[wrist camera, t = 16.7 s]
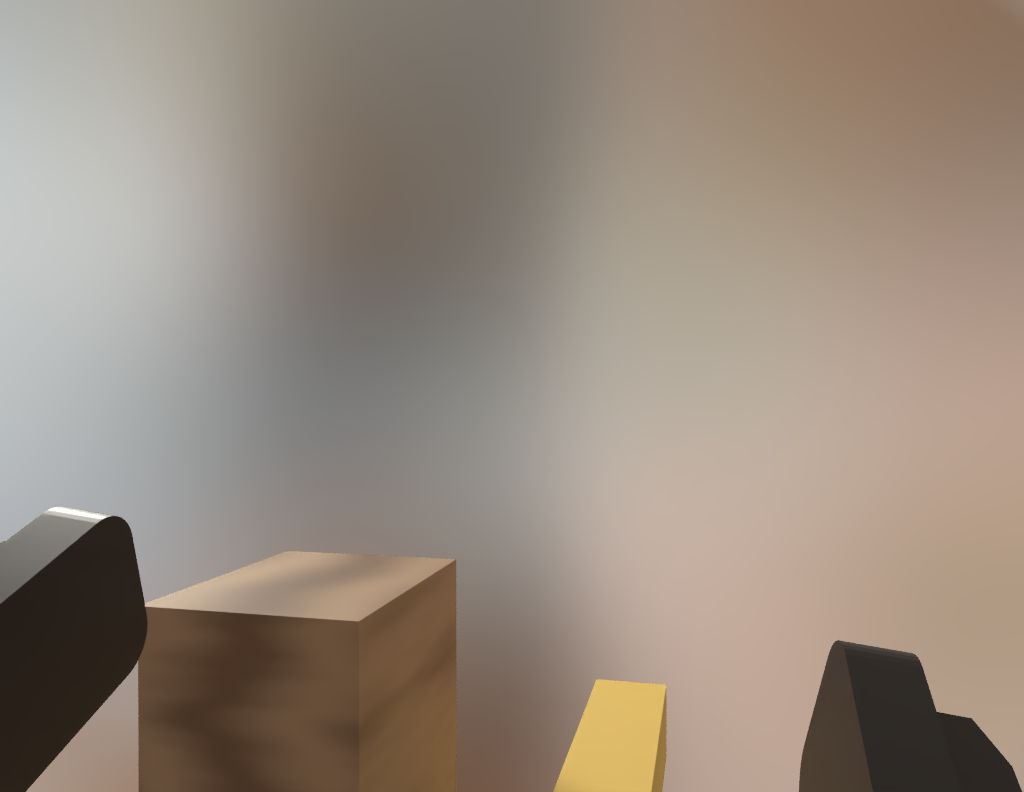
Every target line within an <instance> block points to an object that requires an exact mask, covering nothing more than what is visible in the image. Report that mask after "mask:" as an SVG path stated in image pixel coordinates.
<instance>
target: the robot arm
mask: <svg viewBox="0 0 1024 792" xmlns="http://www.w3.org/2000/svg"><path fill="white" fill-rule="evenodd" d="M147 626H148V621H147V614H146V608H145V603H144V597H143V592H142V586H141V581H140V576H139V570H138V564H137V559H136V554H135V548H134V543H133V537H132V533H131V529H130V527H129V525H128V524H127V522H126V521H125V520H124V519H122V518H120V517H118V516H113V515H107V514H101V513H95V512H90V511H84V510H78V509H73V508H67V507H55V508H52V509H49V510H47V511H46V512H44V513H43V514H41V515H40V516H39V517H38V518H36V519H35V520H34V521H32V522H31V523H29V524H28V525H27V526H25V527H24V528H23V529H21V530H20V531H19V532H17V533H16V534H15V535H13V536H12V537H11V538H10V539H8V540H7V541H4V542H2V543H0V792H26V791H27V789H28V788H29V787H30V786H31V785H32V784H33V783H34V782H35V780H36V779H37V778H38V777H39V776H40V775H41V774H42V772H43V771H44V770H45V769H46V768H47V766H48V765H49V764H50V763H51V762H52V761H53V760H54V759H55V757H56V756H57V755H58V754H59V753H60V752H61V751H62V750H63V749H64V747H65V746H66V745H67V744H68V743H69V742H70V741H71V739H72V738H73V737H74V736H75V735H76V734H77V733H78V731H79V730H80V729H81V728H82V727H83V726H84V725H85V724H86V722H87V721H88V720H89V719H90V718H91V717H92V716H93V714H94V713H95V712H96V711H97V710H98V709H99V707H101V705H102V704H103V703H104V702H105V701H106V700H107V699H108V697H109V696H110V695H111V694H112V693H113V692H114V691H115V689H116V688H117V687H118V686H119V685H120V684H121V683H122V681H123V680H124V679H125V678H126V677H127V676H128V675H129V673H130V672H131V671H132V669H133V668H134V666H135V665H136V663H137V661H138V659H139V657H140V655H141V653H142V650H143V647H144V644H145V640H146V636H147ZM799 792H1022V790H1021V788H1020V785H1019V783H1018V780H1017V778H1016V775H1015V773H1014V770H1013V768H1012V766H1011V765H1010V764H1009V762H1008V761H1007V760H1006V759H1005V758H1004V756H1003V755H1002V754H1001V753H1000V752H999V750H998V749H997V748H996V747H995V746H994V745H993V743H992V742H991V741H990V740H989V739H988V737H987V736H986V735H985V734H984V733H983V732H982V730H981V729H980V728H979V727H978V726H977V724H976V723H975V722H974V721H973V720H972V719H971V718H966V717H961V716H956V715H950V714H945V713H939V712H936V709H935V706H934V703H933V699H932V696H931V693H930V690H929V687H928V683H927V680H926V677H925V674H924V671H923V668H922V665H921V662H920V660H919V659H918V657H917V656H916V655H915V654H912V653H907V652H902V651H896V650H890V649H884V648H878V647H873V646H867V645H861V644H856V643H850V642H844V641H839V640H838V641H835V643H834V644H833V645H832V647H831V650H830V652H829V656H828V659H827V663H826V666H825V671H824V674H823V678H822V681H821V685H820V689H819V693H818V696H817V700H816V704H815V707H814V711H813V715H812V718H811V722H810V726H809V730H808V734H807V737H806V741H805V745H804V749H803V754H802V761H801V769H800V781H799Z"/></svg>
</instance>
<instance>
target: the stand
mask: <svg viewBox="0 0 1024 792" xmlns="http://www.w3.org/2000/svg"><path fill="white" fill-rule="evenodd" d="M145 608H146V614H147V621H148V626H147V636H146V640H145V644H144V647H143V650H142V653H141V655H140V657H139V659H138V668H139V669H138V671H139V672H138V678H139V679H138V681H139V682H138V683H139V684H138V685H139V686H138V687H139V688H138V691H139V692H138V693H139V696H138V697H139V792H456V559H438V558H418V557H397V556H376V555H356V554H336V553H314V552H295V551H286V552H284V553H281V554H278V555H275V556H273V557H270V558H268V559H265V560H262V561H259V562H256V563H254V564H251V565H248V566H246V567H243V568H240V569H237V570H235V571H232V572H230V573H227V574H224V575H221V576H218V577H216V578H213V579H210V580H208V581H205V582H203V583H200V584H197V585H194V586H191V587H189V588H186V589H183V590H180V591H178V592H175V593H172V594H170V595H167V596H164V597H161V598H159V599H156V600H153V601H151V602H148V603H145Z"/></svg>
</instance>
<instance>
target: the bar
mask: <svg viewBox="0 0 1024 792" xmlns="http://www.w3.org/2000/svg"><path fill="white" fill-rule="evenodd" d="M665 762H666V685H662V684H649V683H636V682H623V681H611V680H598V679H597V680H596V683H595V685H594V688H593V690H592V693H591V695H590V698H589V701H588V703H587V706H586V709H585V711H584V714H583V717H582V719H581V721H580V724H579V727H578V729H577V732H576V734H575V737H574V740H573V742H572V745H571V747H570V750H569V753H568V755H567V758H566V760H565V763H564V765H563V768H562V771H561V773H560V776H559V778H558V781H557V783H556V786H555V789H554V792H662V788H663V779H664V771H665Z"/></svg>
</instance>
